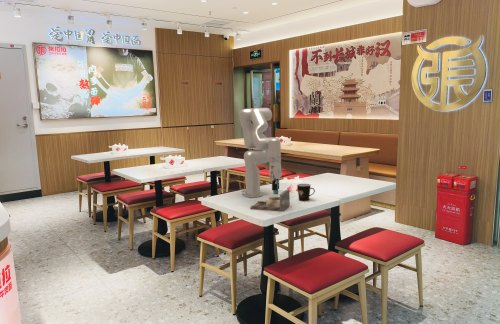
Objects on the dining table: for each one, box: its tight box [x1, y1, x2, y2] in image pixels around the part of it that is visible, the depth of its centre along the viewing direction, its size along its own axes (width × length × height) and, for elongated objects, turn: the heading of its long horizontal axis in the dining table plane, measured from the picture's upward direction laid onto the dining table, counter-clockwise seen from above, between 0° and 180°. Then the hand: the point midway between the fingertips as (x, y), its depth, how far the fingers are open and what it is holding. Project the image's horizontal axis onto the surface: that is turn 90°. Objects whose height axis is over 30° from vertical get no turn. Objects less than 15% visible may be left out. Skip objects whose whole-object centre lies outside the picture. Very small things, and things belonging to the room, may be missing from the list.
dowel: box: [272, 181, 279, 195], centre depth 228 cm, size 3×3×8 cm
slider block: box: [265, 196, 280, 208], centre depth 230 cm, size 9×9×4 cm
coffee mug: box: [296, 183, 316, 202], centre depth 245 cm, size 12×9×10 cm
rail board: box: [249, 189, 291, 212], centre depth 231 cm, size 21×13×10 cm, turn 68°
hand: (275, 189), depth 228 cm, fingers closed on dowel, 2 cm apart
